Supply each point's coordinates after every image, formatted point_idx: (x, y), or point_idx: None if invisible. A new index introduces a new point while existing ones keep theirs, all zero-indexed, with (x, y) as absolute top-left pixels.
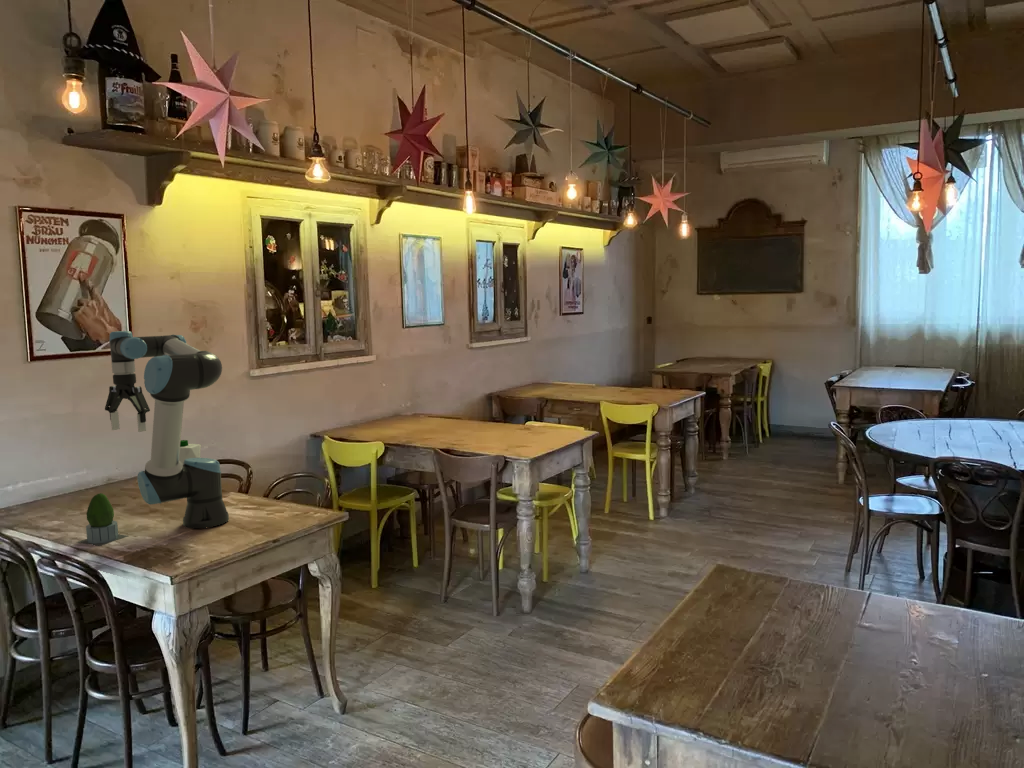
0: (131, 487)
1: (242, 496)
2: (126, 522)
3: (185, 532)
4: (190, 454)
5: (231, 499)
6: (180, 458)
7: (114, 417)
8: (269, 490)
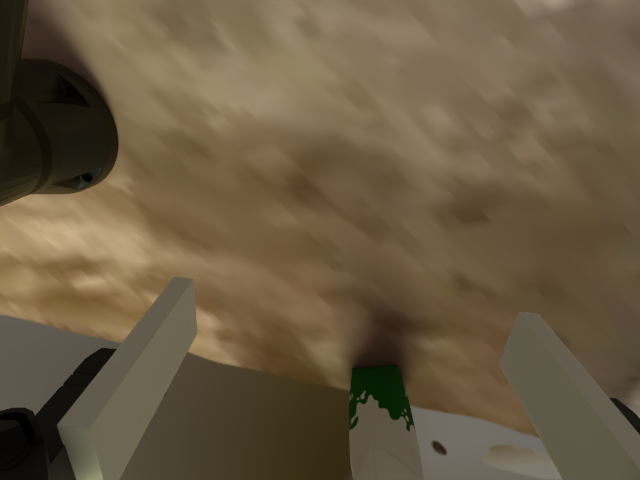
0: None
1: None
2: (290, 63)
3: None
4: (358, 461)
5: None
6: (390, 442)
7: (583, 437)
8: None
